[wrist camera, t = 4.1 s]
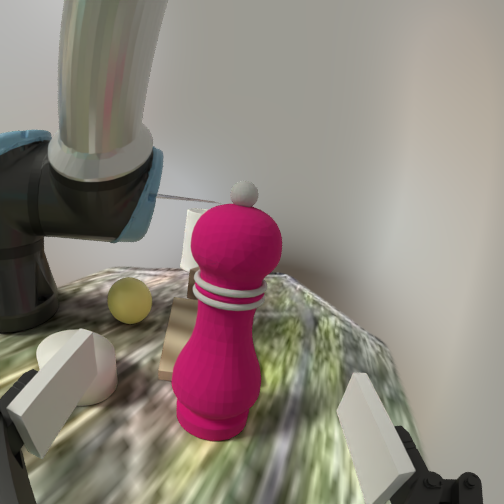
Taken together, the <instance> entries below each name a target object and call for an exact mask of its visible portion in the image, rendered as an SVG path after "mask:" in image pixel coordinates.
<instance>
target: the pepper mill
mask: <svg viewBox="0 0 504 504" xmlns="http://www.w3.org/2000/svg"><path fill="white" fill-rule="evenodd" d="M257 199H258V190H257V188H256V187H255V185H254V184H252V183H251V182H248V181H241V182H238V183H236V184H235V185H234V186H233V188H232V190H231V200H232V202H233V203H234V204H224V205H220V206H216V207H213V208H211V209H210V210H208V211H206V212H205V213H204V214H203V215H201V217H200V218H199V219H198V221H197V222H196V224H195V226H194V229H193V232H192V237H191V253H192V256H193V258H194V260H195V261H196V263H197V264H198V266H199V268H200V269H199V270H198V271H197V272H196V273H195V275H194V280H195V284H194V286H193V293H194V295H195V296H196V297H197V298H198V312H197V318H196V324H195V327H194V330H193V332H192V335H191V337H190V339H189V340H188V342H187V343H186V345H185V346H184V347H183V349H182V351H181V352H180V354H179V355H178V357H177V360H176V362H175V365H174V367H173V374H172V388H173V391H174V393H175V395H176V397H177V418H178V421H179V423H180V424H181V426H182V427H183V428H184V429H185V430H186V431H187V432H189V433H190V434H192V435H194V436H196V437H198V438H201V439H205V440H209V441H221V440H226V439H230V438H232V437H234V436H236V435H238V434H239V433H240V432H241V431H242V430H243V428H244V427H245V425H246V421H247V417H248V413H249V408H251V407H252V406H253V405H254V403H255V402H256V400H257V399H258V396H259V393H260V386H261V373H260V366H259V362H258V359H257V356H256V353H255V349H254V345H253V338H252V325H253V317H254V314H255V311H256V308H258V307H259V306H261V305H262V304H263V303H264V301H265V296H264V292H265V291H266V290H267V283H266V281H265V280H264V278H265V277H266V276H267V275H268V274H269V273H271V272H272V271H273V270H274V268H275V267H276V266H277V264H278V263H279V261H280V257H281V252H282V237H281V233H280V230H279V228H278V226H277V224H276V223H275V221H274V220H273V219H272V218H271V217H270V216H269V215H268V214H266V213H265V212H263V211H261V210H259V209H257V208H254V207H252V206H253V205H254V204H255V203H256V201H257Z"/></svg>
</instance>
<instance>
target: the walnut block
mask: <svg viewBox="0 0 504 504" xmlns="http://www.w3.org/2000/svg"><path fill="white" fill-rule="evenodd" d="M199 269H200V268H199V266H198V267H195V268H192V269H190V273H189V282H188V292H187V298H188V299H193V300H198V298H197V297H196V296H195V295H194V293H193V286H194V284H195V280H194V275H195V273H196V272H197V271H198V270H199Z"/></svg>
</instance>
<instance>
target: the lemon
mask: <svg viewBox="0 0 504 504" xmlns="http://www.w3.org/2000/svg"><path fill="white" fill-rule="evenodd" d="M107 302H108V307H109V310H110V312H111V313H112V315H113V316H114V317H115V318H116V319H117V320H119V321H121V322H123V323H127V324H134V323H138V322H140V321H142V320H143V319H144V318H146V316H147V315H148V314H149V312H150V310H151V306H152V296H151V293H150V291H149V289H148V287H147V286H146V285H145V284H144V283H143V282H142V281H140V280H138V279H135V278H130V277H128V278H122V279H120V280H118V281H117V282H115V283H114V284H113V285H112V287H111V288H110V290H109V293H108V297H107Z"/></svg>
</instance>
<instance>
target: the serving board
mask: <svg viewBox="0 0 504 504" xmlns="http://www.w3.org/2000/svg"><path fill="white" fill-rule="evenodd" d="M197 312H198V300H193V299H184V298H176V297H174V300H173V304H172V308H171V313H170V317H169V322H168V326H167V331H166V336H165V340H164V345H163V350H162V355H161V360H160V365H159V370H158V373H159V379H160V380H168V381H172V374H173V367H174V365H175V362H176V360H177V357H178V355H179V354H180V352H181V351H182V349H183V347H184V346H185V345H186V343H187V342H188V340H189V339H190V337H191V335H192V332H193V330H194V327H195V324H196V318H197Z"/></svg>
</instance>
